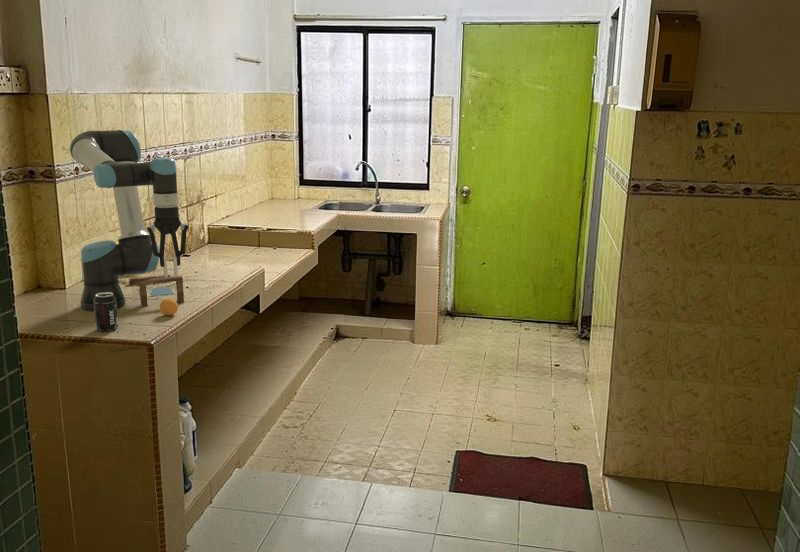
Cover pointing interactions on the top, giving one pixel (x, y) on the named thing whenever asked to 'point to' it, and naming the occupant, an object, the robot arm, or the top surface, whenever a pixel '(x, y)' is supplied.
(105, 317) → the beverage can
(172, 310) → the ball
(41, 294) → the top surface
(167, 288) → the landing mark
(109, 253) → the robot arm
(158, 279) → the bridge
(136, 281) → the wall
